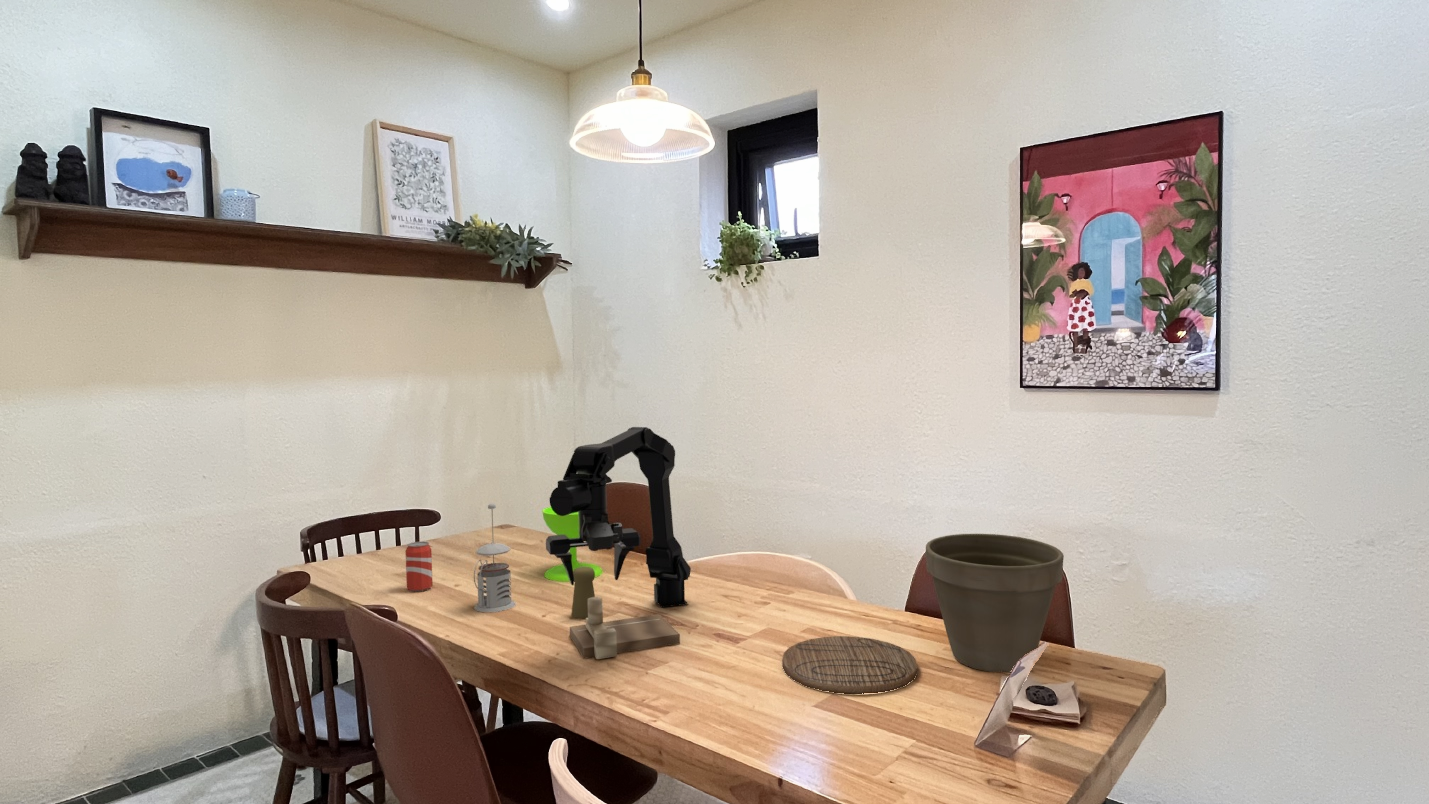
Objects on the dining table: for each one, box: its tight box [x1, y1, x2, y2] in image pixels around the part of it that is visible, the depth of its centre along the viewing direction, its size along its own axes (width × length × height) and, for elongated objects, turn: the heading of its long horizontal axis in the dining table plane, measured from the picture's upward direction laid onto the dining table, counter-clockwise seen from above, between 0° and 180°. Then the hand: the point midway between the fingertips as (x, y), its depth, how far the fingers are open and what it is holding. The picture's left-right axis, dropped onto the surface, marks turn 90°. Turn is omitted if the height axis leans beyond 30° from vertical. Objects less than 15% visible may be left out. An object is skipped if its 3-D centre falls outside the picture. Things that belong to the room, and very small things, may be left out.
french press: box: [473, 502, 517, 613], centre depth 188 cm, size 10×12×25 cm
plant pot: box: [925, 533, 1065, 674], centre depth 150 cm, size 25×25×22 cm
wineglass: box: [541, 506, 604, 582], centre depth 218 cm, size 16×16×18 cm
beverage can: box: [404, 541, 434, 593], centre depth 205 cm, size 6×6×12 cm
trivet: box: [781, 635, 918, 694], centre depth 148 cm, size 25×25×2 cm
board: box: [569, 613, 681, 659], centre depth 165 cm, size 20×14×2 cm
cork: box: [571, 567, 596, 620], centre depth 182 cm, size 6×6×11 cm
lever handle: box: [585, 596, 618, 660], centre depth 160 cm, size 4×13×9 cm, turn 22°
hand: (594, 582), depth 162 cm, fingers open, 9 cm apart
